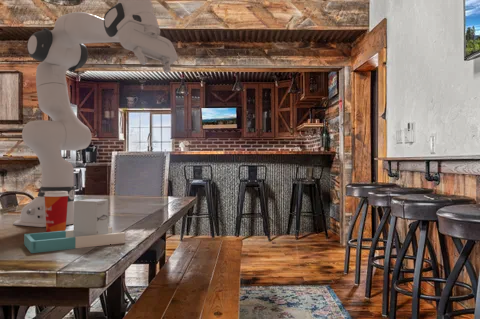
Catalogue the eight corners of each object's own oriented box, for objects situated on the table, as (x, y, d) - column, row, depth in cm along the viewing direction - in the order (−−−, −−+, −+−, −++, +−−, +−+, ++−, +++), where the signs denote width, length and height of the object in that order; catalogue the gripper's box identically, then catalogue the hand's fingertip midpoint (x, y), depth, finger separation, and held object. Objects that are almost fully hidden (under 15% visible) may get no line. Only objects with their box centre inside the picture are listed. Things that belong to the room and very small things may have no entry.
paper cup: (43, 232, 135) (44, 190, 135) (68, 231, 138) (69, 190, 138) (42, 237, 128) (42, 192, 128) (68, 235, 131) (69, 192, 131)
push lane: (31, 253, 106) (31, 241, 106) (24, 244, 117) (24, 234, 117) (125, 242, 120) (125, 232, 120) (111, 236, 131) (111, 226, 131)
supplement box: (95, 245, 117) (96, 201, 117) (72, 244, 118) (73, 200, 118) (108, 240, 124) (109, 199, 124) (86, 239, 126) (87, 198, 126)
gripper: (162, 45, 135) (173, 80, 131) (111, 24, 119) (122, 64, 115) (175, 34, 132) (187, 70, 128) (124, 11, 115) (136, 52, 111)
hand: (156, 67), depth 121 cm, fingers open, 8 cm apart
